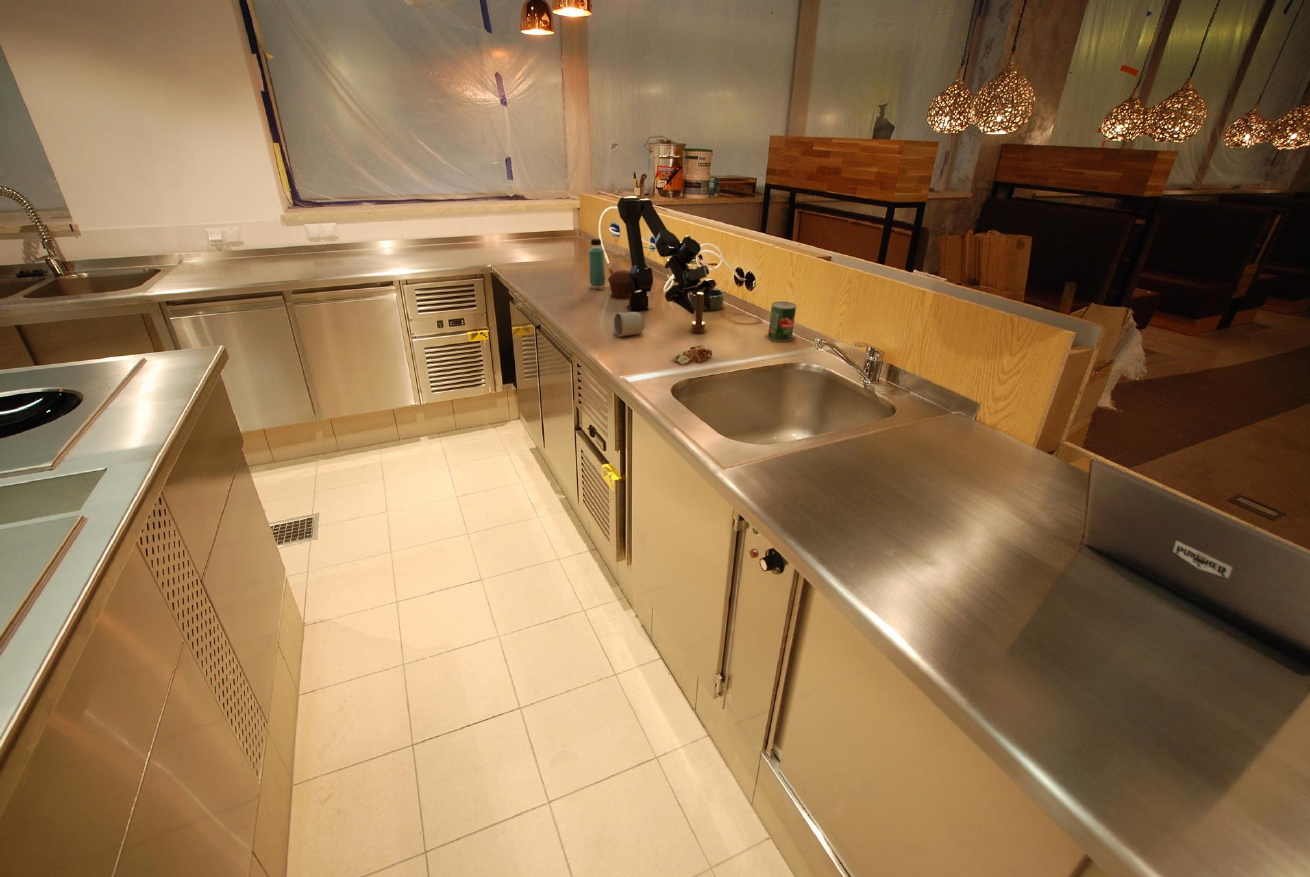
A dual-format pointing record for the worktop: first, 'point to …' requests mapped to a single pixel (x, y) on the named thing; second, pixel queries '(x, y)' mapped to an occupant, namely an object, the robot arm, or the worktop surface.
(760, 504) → the worktop surface
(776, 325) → the canned tomato
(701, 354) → the pastry
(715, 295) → the bowl
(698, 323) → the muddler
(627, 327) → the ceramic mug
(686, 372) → the worktop surface
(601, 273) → the beverage bottle
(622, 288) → the muffin
